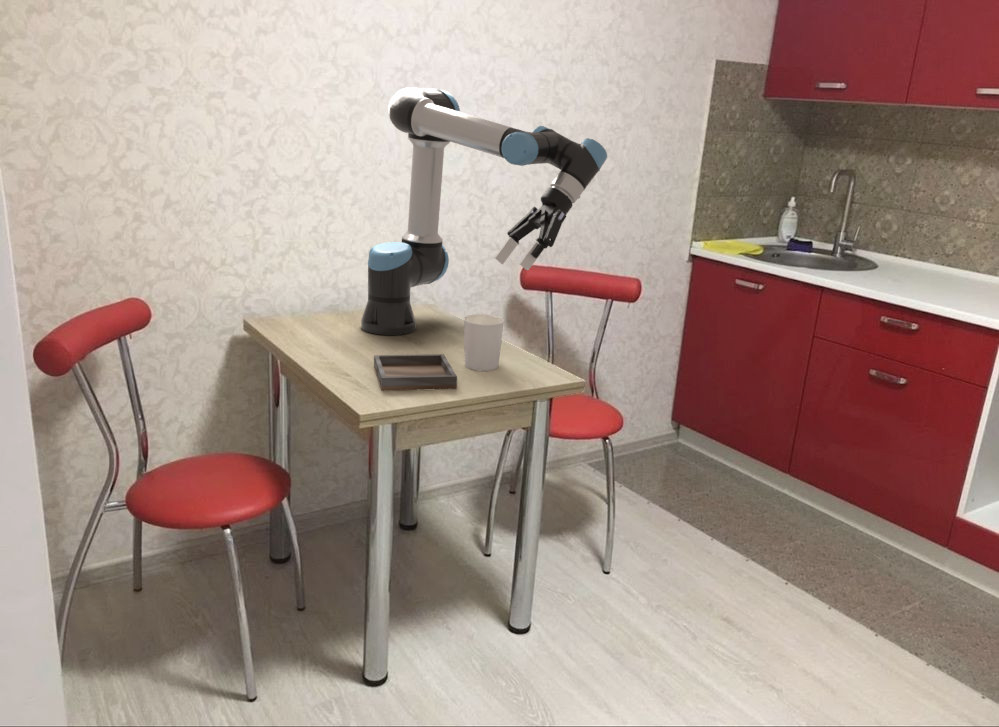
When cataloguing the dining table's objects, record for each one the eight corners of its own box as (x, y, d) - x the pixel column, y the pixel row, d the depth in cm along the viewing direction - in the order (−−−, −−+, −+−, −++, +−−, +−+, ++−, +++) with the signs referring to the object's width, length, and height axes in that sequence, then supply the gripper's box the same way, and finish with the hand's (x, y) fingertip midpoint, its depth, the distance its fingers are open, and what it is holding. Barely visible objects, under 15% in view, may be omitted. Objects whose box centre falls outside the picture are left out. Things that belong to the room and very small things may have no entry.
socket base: (373, 366, 206) (374, 355, 206) (443, 365, 211) (443, 354, 210) (381, 390, 191) (381, 378, 190) (456, 388, 195) (457, 376, 194)
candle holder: (466, 372, 207) (469, 324, 203) (457, 360, 216) (460, 314, 212) (505, 371, 209) (508, 324, 206) (495, 359, 218) (498, 313, 215)
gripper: (598, 208, 201) (545, 279, 199) (546, 203, 223) (498, 267, 221) (577, 187, 197) (523, 259, 195) (527, 184, 219) (478, 249, 217)
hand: (510, 264), depth 208 cm, fingers open, 13 cm apart
